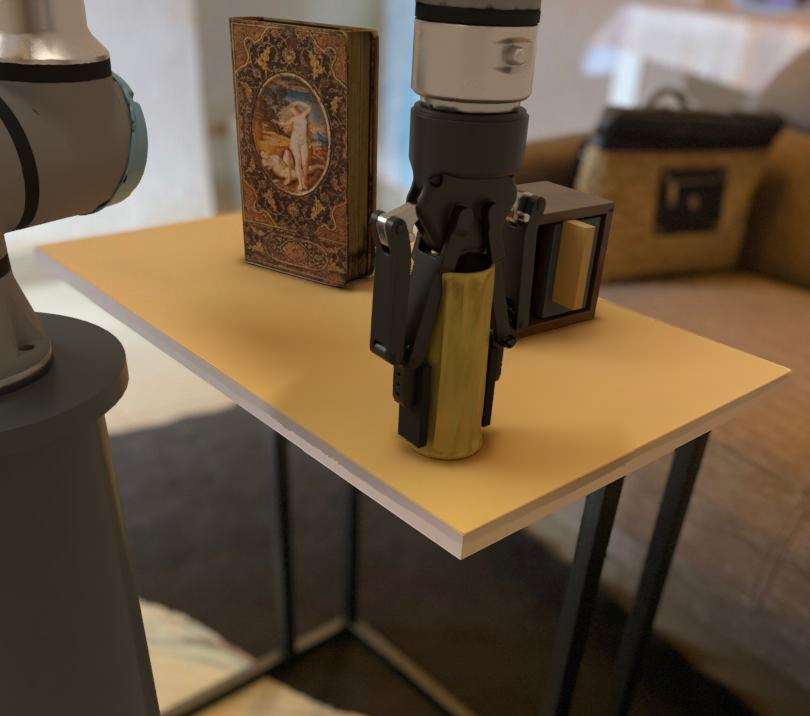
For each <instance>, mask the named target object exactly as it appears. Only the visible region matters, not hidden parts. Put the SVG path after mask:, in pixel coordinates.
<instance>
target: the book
mask: <svg viewBox="0 0 810 716" xmlns="http://www.w3.org/2000/svg"><path fill="white" fill-rule="evenodd" d="M228 23H229V24H228V27H229V40H230V55H231V71H232V84H233V85H232V86H233V101H234V117H235V129H236V130H235V131H236V143H237V159H238V174H239V175H238V176H239V191H240V204H241V205H240V206H241V218H242V233H243V234H242V235H243V249H244V262H245V263H247V264H251V265H254V266H258V267H262V268H266V269H270V270H273V271H276V272H280V273H283V274H287V275H290V276H294V277H298V278H301V279H305V280H309V281H312V282H316V283H320V284H324V285H328V286H333V287H337V288H343V287H346V286H347V285H348V282H349V281H351V280H353V279H357V278H364V277H369V276H371V275H373V274H374V268H375V253H376V246H375V242H374V237H373V233H372V229H371V225H370V217H371V215H372V213H373V212H374V211H375V210H377V195H378V194H377V193H378V192H377V191H378V189H377V187H378V185H377V184H378V137H379V136H378V135H379V132H378V130H379V129H378V128H379V80H380V79H379V73H380V72H379V69H380V36H379V32H378V31H377V30H376V29H374V28H369V27H359V26H350V25H344V24H343V25H342V24H335V23H334V24H332V23H325V22H315V21H308V20H307V21H306V20H298V19H297V20H296V19H288V18H278V17H270V16H233V17H229V18H228Z"/></svg>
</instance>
